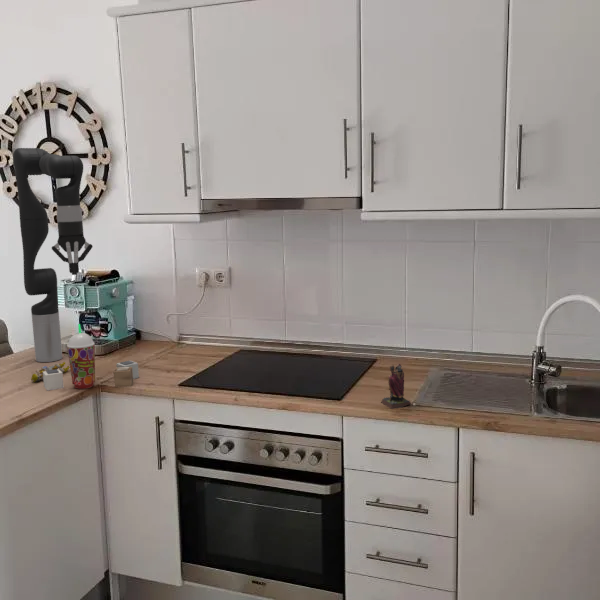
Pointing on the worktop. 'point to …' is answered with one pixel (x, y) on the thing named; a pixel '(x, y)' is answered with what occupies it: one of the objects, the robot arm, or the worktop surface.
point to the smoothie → (82, 359)
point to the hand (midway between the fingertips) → (74, 274)
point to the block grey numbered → (130, 364)
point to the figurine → (396, 389)
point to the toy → (40, 371)
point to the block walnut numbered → (123, 376)
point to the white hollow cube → (53, 379)
